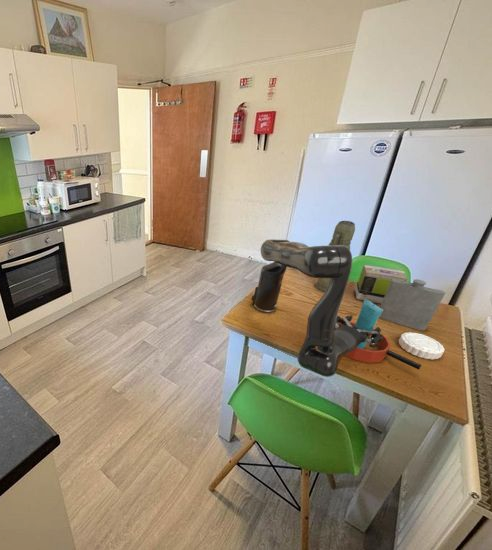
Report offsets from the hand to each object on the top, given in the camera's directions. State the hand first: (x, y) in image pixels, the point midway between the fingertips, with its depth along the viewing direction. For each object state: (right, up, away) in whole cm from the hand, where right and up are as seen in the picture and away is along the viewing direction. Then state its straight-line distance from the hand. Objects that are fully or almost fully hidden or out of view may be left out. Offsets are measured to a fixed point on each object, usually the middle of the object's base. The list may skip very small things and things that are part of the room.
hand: (364, 323), depth 107 cm
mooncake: (+24, -10, +4) cm, 26 cm away
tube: (+2, -10, +6) cm, 12 cm away
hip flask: (+30, -3, +18) cm, 35 cm away
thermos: (+16, +11, +44) cm, 48 cm away
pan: (+4, -11, +3) cm, 12 cm away
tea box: (+33, +6, +35) cm, 48 cm away
